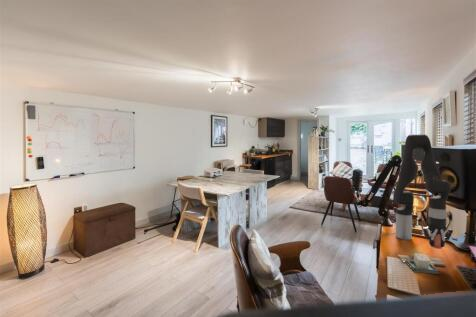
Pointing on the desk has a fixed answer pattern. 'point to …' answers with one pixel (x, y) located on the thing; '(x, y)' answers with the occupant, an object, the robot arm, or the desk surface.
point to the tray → (431, 269)
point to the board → (432, 260)
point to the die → (421, 261)
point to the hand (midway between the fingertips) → (436, 246)
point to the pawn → (437, 242)
